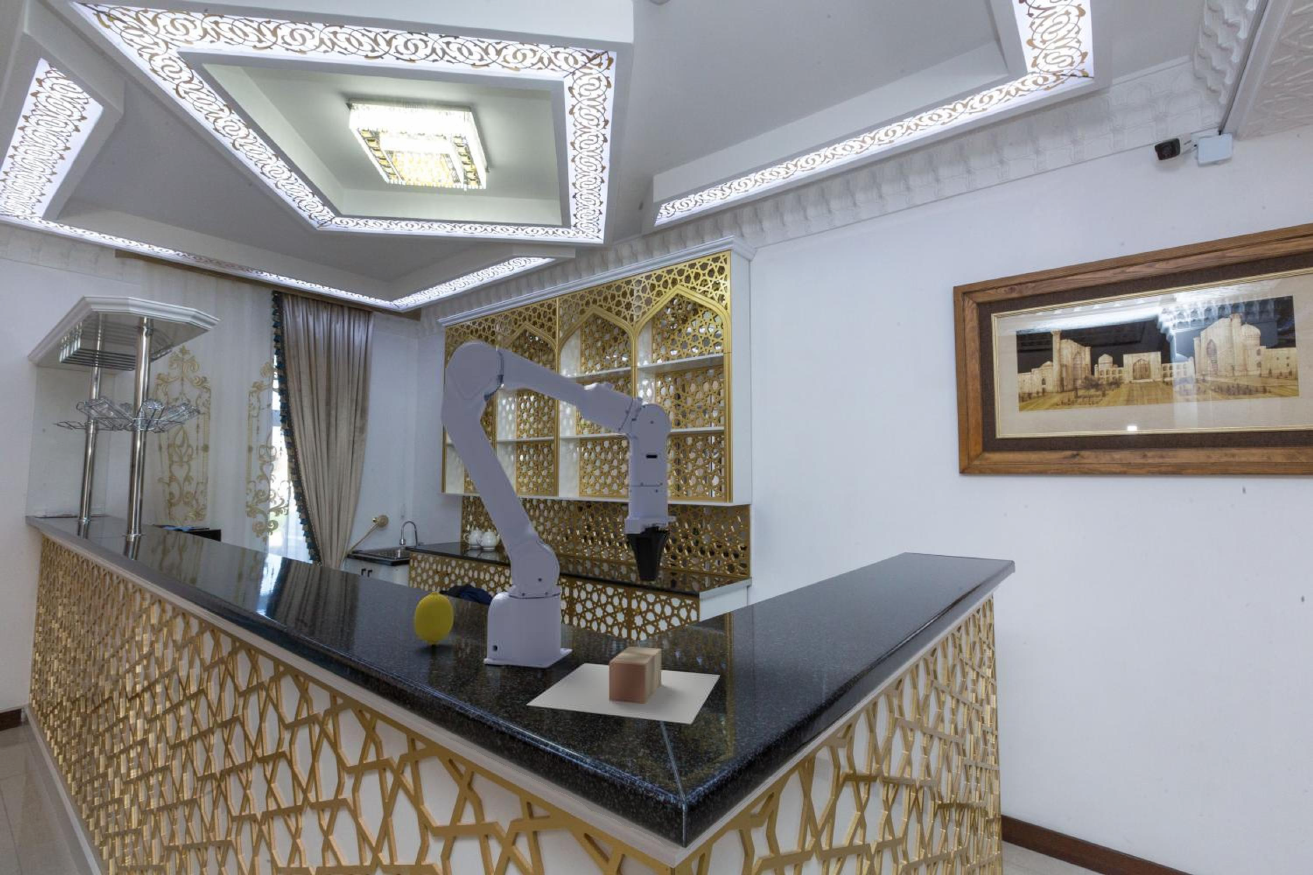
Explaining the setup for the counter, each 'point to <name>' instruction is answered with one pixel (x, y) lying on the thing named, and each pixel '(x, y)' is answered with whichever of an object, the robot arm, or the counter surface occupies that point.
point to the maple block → (635, 674)
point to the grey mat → (667, 703)
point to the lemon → (433, 618)
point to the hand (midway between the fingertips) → (648, 580)
